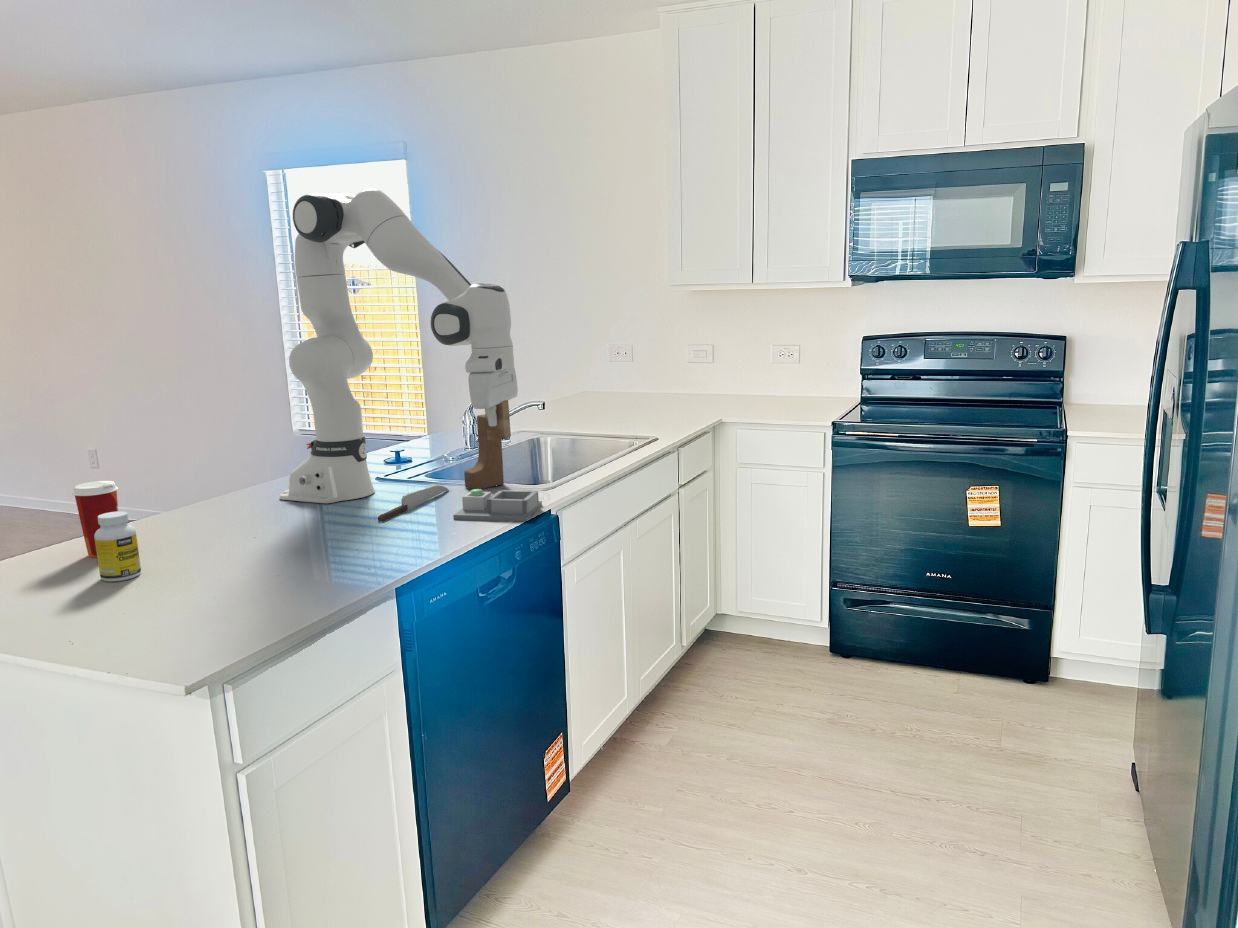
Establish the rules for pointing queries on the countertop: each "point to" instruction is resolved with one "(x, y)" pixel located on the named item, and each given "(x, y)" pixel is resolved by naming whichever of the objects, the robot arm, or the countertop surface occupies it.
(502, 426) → the block
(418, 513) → the countertop surface
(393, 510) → the kitchen knife
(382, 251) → the robot arm
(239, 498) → the countertop surface
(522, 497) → the gray button tray fixture
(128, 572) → the pill bottle
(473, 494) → the button
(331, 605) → the countertop surface
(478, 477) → the wooden block
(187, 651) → the countertop surface
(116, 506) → the paper cup
